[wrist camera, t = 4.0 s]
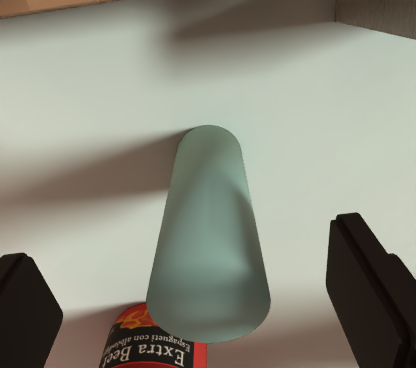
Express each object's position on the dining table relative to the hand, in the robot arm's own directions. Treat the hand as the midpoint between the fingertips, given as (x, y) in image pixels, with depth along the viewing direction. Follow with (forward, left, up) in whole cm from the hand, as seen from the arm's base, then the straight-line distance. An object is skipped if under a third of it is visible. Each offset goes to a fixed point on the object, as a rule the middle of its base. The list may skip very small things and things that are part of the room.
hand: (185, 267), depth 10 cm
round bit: (0, -1, -9) cm, 9 cm away
